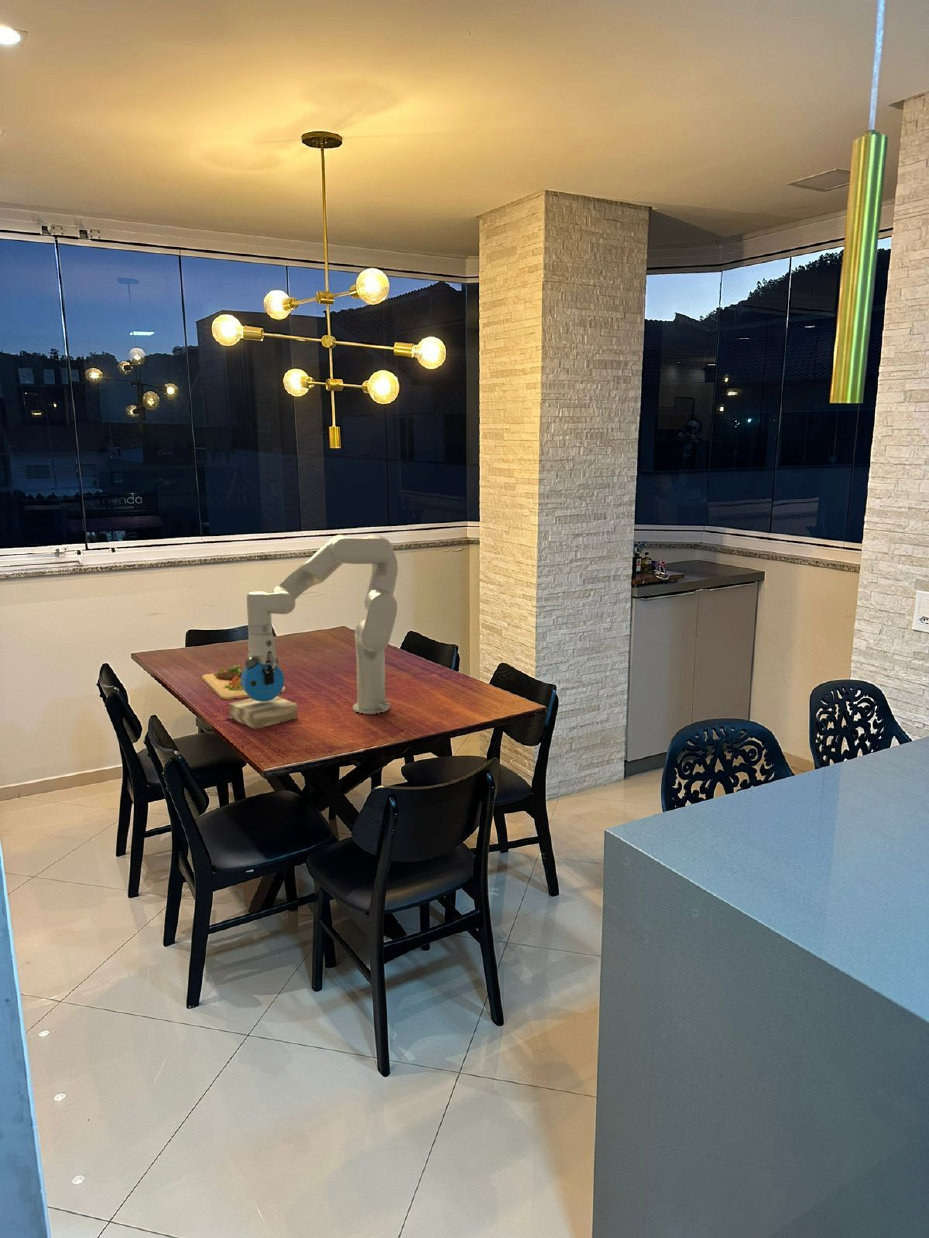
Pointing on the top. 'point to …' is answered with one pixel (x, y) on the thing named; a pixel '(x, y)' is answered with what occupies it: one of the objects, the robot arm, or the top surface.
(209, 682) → the cutting board
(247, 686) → the alarm clock
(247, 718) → the wooden box
